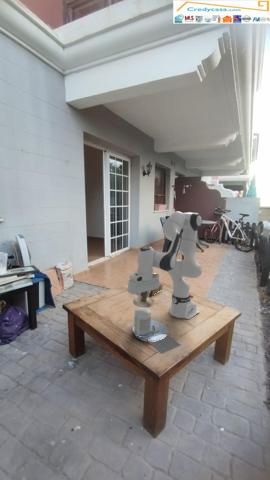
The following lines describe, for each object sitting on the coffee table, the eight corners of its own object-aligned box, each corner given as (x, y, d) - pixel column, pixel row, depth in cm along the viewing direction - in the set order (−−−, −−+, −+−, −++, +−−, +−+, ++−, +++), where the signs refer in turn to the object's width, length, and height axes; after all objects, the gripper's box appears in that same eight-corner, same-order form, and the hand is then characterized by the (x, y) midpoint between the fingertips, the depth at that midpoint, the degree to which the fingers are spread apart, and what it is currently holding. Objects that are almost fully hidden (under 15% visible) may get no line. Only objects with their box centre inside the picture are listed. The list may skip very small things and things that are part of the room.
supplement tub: (152, 332, 131) (154, 309, 129) (145, 340, 123) (147, 316, 120) (138, 327, 135) (139, 305, 133) (130, 335, 127) (131, 311, 125)
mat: (164, 333, 131) (164, 332, 131) (180, 345, 119) (181, 344, 119) (145, 340, 123) (145, 339, 123) (161, 354, 111) (161, 353, 111)
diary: (130, 290, 196) (130, 284, 195) (141, 284, 211) (142, 279, 210) (151, 297, 182) (152, 290, 181) (162, 290, 197) (163, 284, 196)
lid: (145, 296, 134) (146, 287, 133) (158, 304, 124) (158, 294, 123) (129, 300, 127) (129, 291, 126) (141, 309, 118) (141, 298, 117)
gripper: (155, 271, 132) (154, 292, 134) (126, 276, 120) (125, 299, 122) (162, 274, 126) (161, 296, 129) (133, 279, 115) (132, 304, 117)
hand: (143, 298), depth 125 cm, fingers closed on lid, 3 cm apart
